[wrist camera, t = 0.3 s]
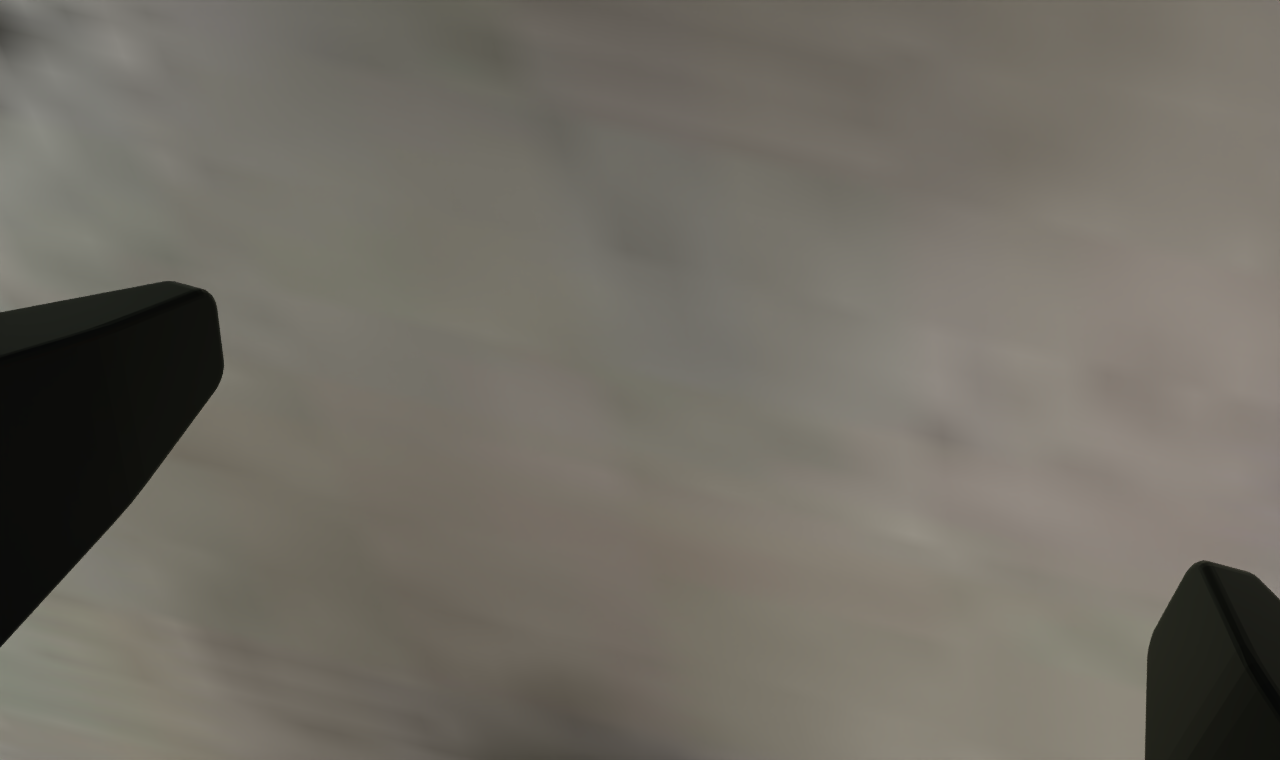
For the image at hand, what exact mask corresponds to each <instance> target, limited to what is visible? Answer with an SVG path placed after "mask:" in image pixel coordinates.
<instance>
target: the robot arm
mask: <svg viewBox="0 0 1280 760" xmlns="http://www.w3.org/2000/svg"><path fill="white" fill-rule="evenodd" d="M223 369H224V358H223V351H222V343H221V335H220V327H219V319H218V311H217V305H216V302H215V300H214V298H213V296H212V295H211V294H210V293H209V292H207V291H206V290H204V289H200V288H197V287H193V286H189V285H186V284H182V283H178V282H175V281H164V282H159V283H153V284H148V285H143V286H137V287H132V288H127V289H122V290H116V291H111V292H106V293H100V294H95V295H90V296H85V297H79V298H74V299H69V300H63V301H58V302H53V303H48V304H42V305H37V306H32V307H27V308H21V309H16V310H11V311H5V312H0V647H1V646H2V645H3V644H4V643H5V642H6V641H7V640H8V638H9V637H10V636H11V635H12V634H13V633H14V632H15V631H16V630H17V629H18V628H19V626H20V625H21V624H22V623H23V622H24V621H25V620H26V619H27V618H28V617H29V615H30V614H31V613H32V612H33V611H34V610H35V609H36V608H37V607H38V606H39V605H40V603H41V602H42V601H43V600H44V599H45V598H46V597H47V596H48V595H49V594H50V592H51V591H52V590H53V589H54V588H55V587H56V586H57V585H58V584H59V583H60V582H61V580H62V579H63V578H64V577H65V576H66V575H67V574H68V573H69V572H70V571H71V569H72V568H73V567H74V566H75V565H76V564H77V563H78V562H79V561H80V560H81V559H82V557H83V556H84V555H85V554H86V553H87V552H88V551H89V550H90V549H91V548H92V547H93V545H94V544H95V543H96V542H97V541H98V540H99V539H100V538H101V537H102V536H103V534H104V533H105V532H106V531H107V530H108V529H109V528H110V527H111V526H112V525H113V524H114V522H115V521H116V520H117V519H118V518H119V517H120V516H121V514H122V513H123V512H124V511H125V510H126V509H127V507H128V506H129V505H130V504H131V503H132V502H133V500H134V499H135V498H136V496H137V495H138V494H139V493H140V491H141V490H142V489H143V487H144V486H145V485H146V484H147V482H148V481H149V480H150V478H151V477H152V476H153V474H154V473H155V472H156V470H157V469H158V467H159V466H160V465H161V463H162V462H163V461H164V459H165V458H166V457H167V455H168V454H169V453H170V451H171V450H172V449H173V447H174V446H175V444H176V443H177V442H178V440H179V439H180V438H181V436H182V435H183V434H184V432H185V431H186V430H187V428H188V427H189V426H190V424H191V423H192V421H193V420H194V419H195V417H196V416H197V415H198V413H199V412H200V411H201V409H202V408H203V407H204V405H205V404H206V403H207V401H208V400H209V398H210V397H211V396H212V394H213V393H214V392H215V390H216V389H217V387H218V385H219V383H220V381H221V378H222V375H223ZM1145 760H1280V599H1279V598H1278V597H1277V596H1276V595H1275V594H1274V593H1273V592H1272V591H1271V590H1270V589H1269V588H1268V587H1267V586H1266V585H1265V584H1264V583H1263V582H1262V581H1261V580H1260V579H1259V578H1257V577H1256V576H1255V575H1253V574H1252V573H1250V572H1247V571H1243V570H1240V569H1236V568H1232V567H1228V566H1225V565H1221V564H1217V563H1213V562H1210V561H1204V560H1203V561H1199V562H1197V563H1194V564H1193V565H1192V566H1191V567H1190V568H1189V569H1188V571H1187V572H1186V574H1185V575H1184V577H1183V579H1182V581H1181V582H1180V584H1179V586H1178V588H1177V590H1176V591H1175V593H1174V595H1173V597H1172V599H1171V600H1170V602H1169V604H1168V606H1167V608H1166V609H1165V611H1164V613H1163V615H1162V617H1161V618H1160V620H1159V622H1158V624H1157V626H1156V628H1155V630H1154V632H1153V634H1152V637H1151V640H1150V644H1149V649H1148V655H1147V689H1146V732H1145Z"/></svg>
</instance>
